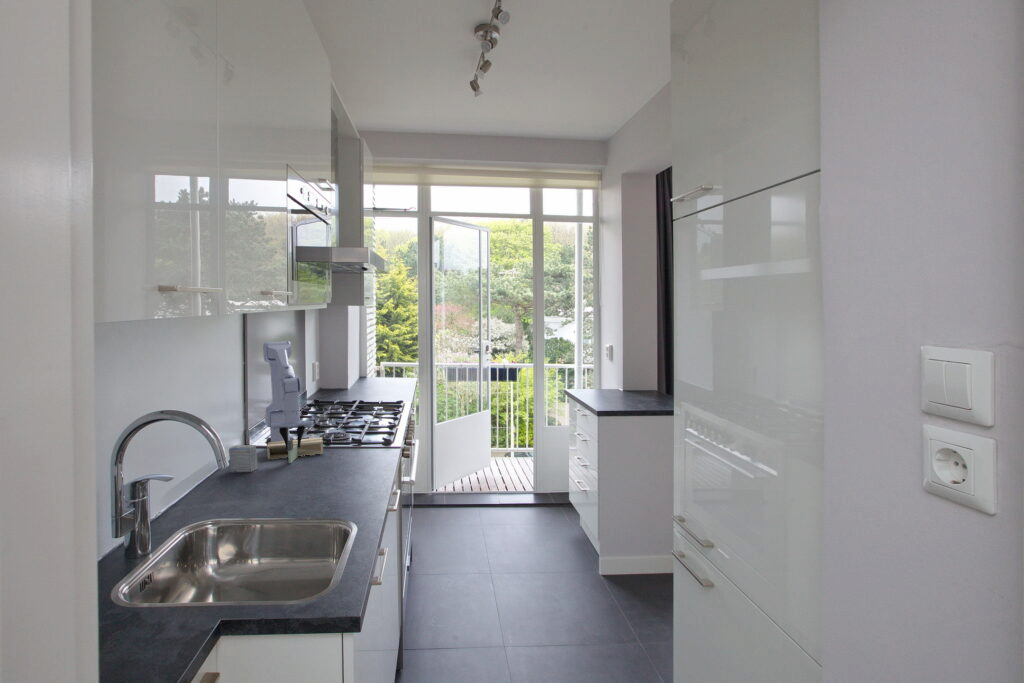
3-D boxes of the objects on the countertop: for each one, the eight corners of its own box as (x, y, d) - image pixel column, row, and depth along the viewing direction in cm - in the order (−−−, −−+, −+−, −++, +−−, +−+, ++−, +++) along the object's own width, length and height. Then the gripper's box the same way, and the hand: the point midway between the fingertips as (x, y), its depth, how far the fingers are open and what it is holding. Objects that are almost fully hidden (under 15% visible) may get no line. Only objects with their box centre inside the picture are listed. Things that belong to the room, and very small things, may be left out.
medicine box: (258, 469, 220) (256, 444, 219) (251, 472, 215) (250, 447, 215) (236, 469, 220) (235, 445, 220) (230, 472, 216) (228, 448, 215)
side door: (288, 463, 225) (286, 441, 225) (295, 456, 235) (294, 435, 234) (291, 463, 225) (290, 441, 225) (298, 456, 235) (297, 435, 234)
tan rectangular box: (268, 455, 240) (268, 442, 240) (322, 449, 246) (322, 437, 246) (267, 459, 232) (266, 446, 232) (323, 454, 238) (322, 441, 238)
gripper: (268, 414, 220) (270, 451, 221) (311, 411, 224) (313, 448, 225) (271, 410, 227) (273, 447, 228) (312, 407, 230) (314, 443, 231)
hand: (293, 447), depth 227 cm, fingers open, 3 cm apart
